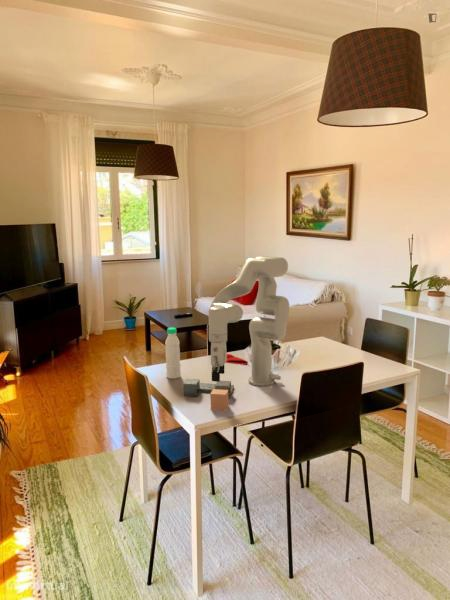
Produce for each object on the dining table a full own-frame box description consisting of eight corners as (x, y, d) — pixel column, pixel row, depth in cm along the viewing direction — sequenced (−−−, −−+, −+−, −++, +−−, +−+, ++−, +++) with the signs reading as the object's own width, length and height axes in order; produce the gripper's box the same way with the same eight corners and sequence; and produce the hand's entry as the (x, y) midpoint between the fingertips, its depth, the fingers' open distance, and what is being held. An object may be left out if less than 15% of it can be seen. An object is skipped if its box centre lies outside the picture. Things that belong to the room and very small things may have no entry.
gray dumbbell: (236, 388, 211) (235, 375, 210) (231, 399, 199) (230, 386, 197) (189, 385, 215) (188, 373, 214) (181, 396, 203) (181, 383, 202)
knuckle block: (228, 405, 192) (228, 390, 191) (226, 410, 188) (225, 394, 186) (213, 404, 194) (213, 389, 192) (210, 409, 189) (210, 393, 187)
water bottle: (178, 379, 223) (176, 330, 218) (164, 378, 224) (162, 329, 220) (182, 374, 230) (180, 326, 225) (169, 374, 231) (167, 326, 226)
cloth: (212, 355, 261) (212, 352, 261) (234, 352, 266) (234, 349, 266) (230, 369, 238) (230, 365, 237) (254, 366, 243) (254, 362, 242)
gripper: (222, 342, 176) (223, 385, 178) (230, 332, 192) (230, 371, 195) (204, 342, 177) (204, 383, 180) (213, 331, 194) (213, 370, 197)
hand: (218, 377), depth 187 cm, fingers open, 9 cm apart
